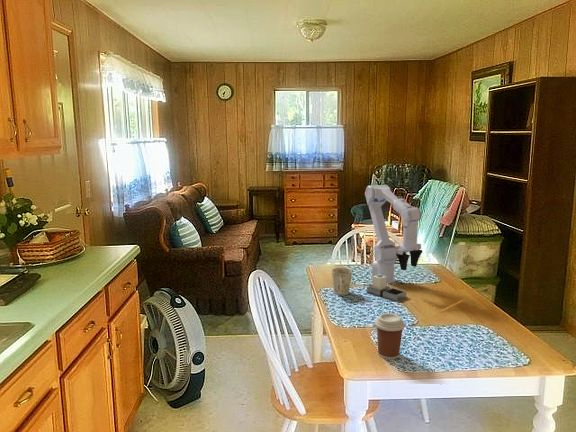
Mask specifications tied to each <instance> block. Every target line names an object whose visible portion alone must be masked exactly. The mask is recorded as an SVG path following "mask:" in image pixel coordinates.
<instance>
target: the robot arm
mask: <svg viewBox="0 0 576 432" xmlns="http://www.w3.org/2000/svg"><path fill="white" fill-rule="evenodd" d="M364 196H365V200H366V203H367V204H366V205H367V206H368V210H369V213H370V217H371V220H372V224H373V228H374V232H375V237H376V240H377V242H376V244H374V247H373V252H374V255H373V256H374V259H375V260H374V261H373V263H372V267H371V269H372V270H371V271H372V272H371V278H370V281H373V276H375V275H378V274H383V276H386V285H387V284H388V285H389V284H392V283H393V282H396V281H398V279H397V278H395V263H396V262H397V260H398V262H399V266H400V270H402V271H407V268H408V262H409V258H410V266H412V267H417V266H418V262H419V260H420V257H421V255H422V253H423V250H422V244H420V243H418V229H419V221H421V219H422V211H421V210H420V208H419V207H418V206H417V207H416V206H415V207H414V206H412V205H411V204H409V203H408V202H407V201H406V199H405V198H401V197H400V198H398V197H397V196H396V195H395V194H394V193H393V192H392V190H391V187H389V185H388V184H379V185H377V184H376V185H367V186H366V188H365V192H364ZM386 201H387V202H388V203H390V204H391V205H392V209H393V210H394V211H395V212H397V214H399V215H400V219H401V223H402V226H403V228H402V229H403V231H402V232H403V233H402V246H401V247H399V248H397V246H396V243H395V242H394V241H392V240H391V239H390V237H389V233H388V229H387V225H386V222H385V218H384V213H383V209H382V206H383V205H384V204H385V203H386ZM407 253H409V254H407Z"/></svg>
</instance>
